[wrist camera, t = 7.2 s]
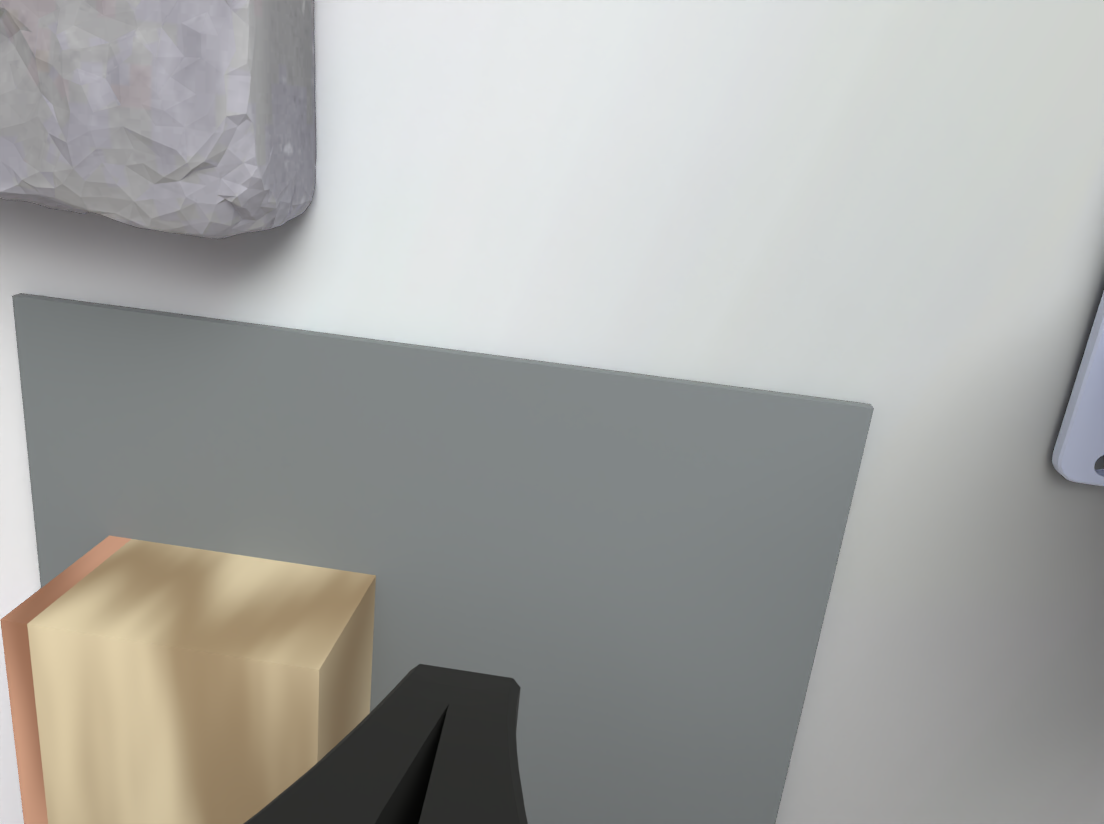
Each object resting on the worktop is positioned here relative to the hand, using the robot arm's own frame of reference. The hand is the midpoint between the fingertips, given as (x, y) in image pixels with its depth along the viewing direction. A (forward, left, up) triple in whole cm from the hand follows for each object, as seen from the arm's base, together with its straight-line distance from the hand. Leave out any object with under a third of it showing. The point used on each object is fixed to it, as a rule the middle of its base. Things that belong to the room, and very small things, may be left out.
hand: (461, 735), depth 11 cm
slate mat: (+3, +6, -10) cm, 12 cm away
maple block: (+4, +7, -8) cm, 11 cm away
